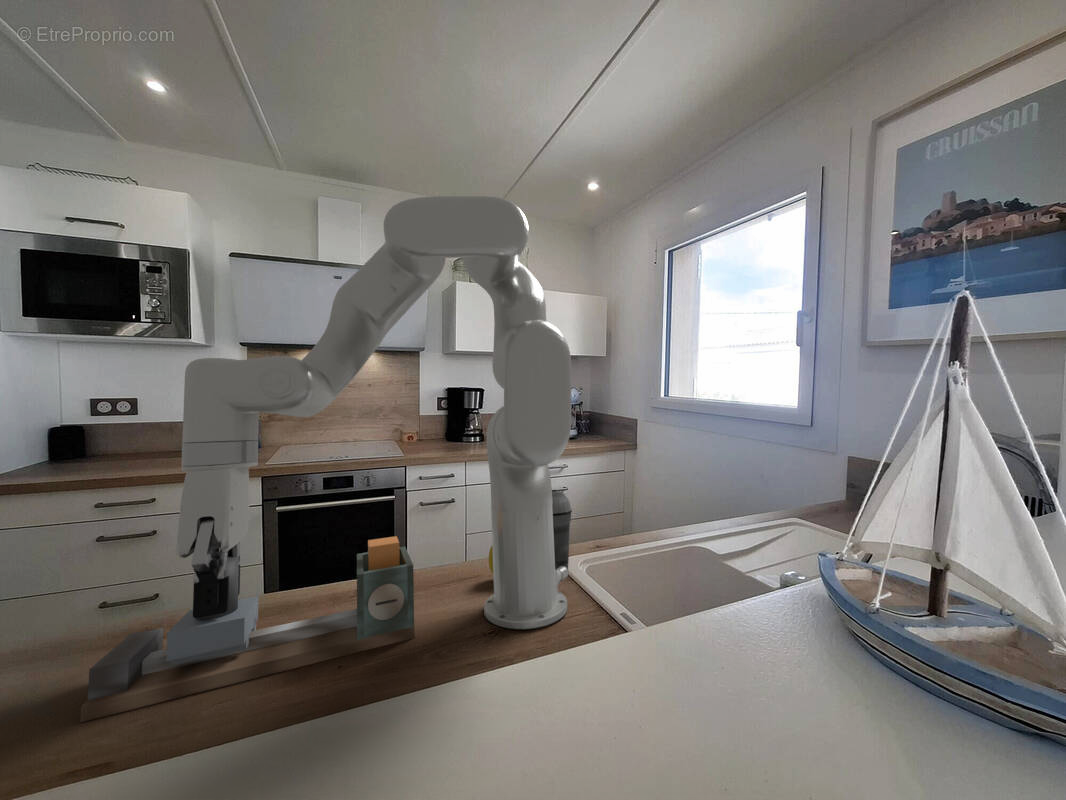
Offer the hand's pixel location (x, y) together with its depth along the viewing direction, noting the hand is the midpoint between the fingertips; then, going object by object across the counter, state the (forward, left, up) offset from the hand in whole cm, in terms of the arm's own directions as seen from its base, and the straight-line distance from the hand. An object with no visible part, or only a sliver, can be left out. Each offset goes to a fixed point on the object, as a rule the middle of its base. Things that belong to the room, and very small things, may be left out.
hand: (217, 604), depth 47 cm
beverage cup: (-46, +20, -7) cm, 51 cm away
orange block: (-17, +10, +1) cm, 19 cm away
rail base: (-6, +3, -7) cm, 10 cm away
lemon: (-38, +14, -7) cm, 41 cm away
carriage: (0, 0, -5) cm, 5 cm away
